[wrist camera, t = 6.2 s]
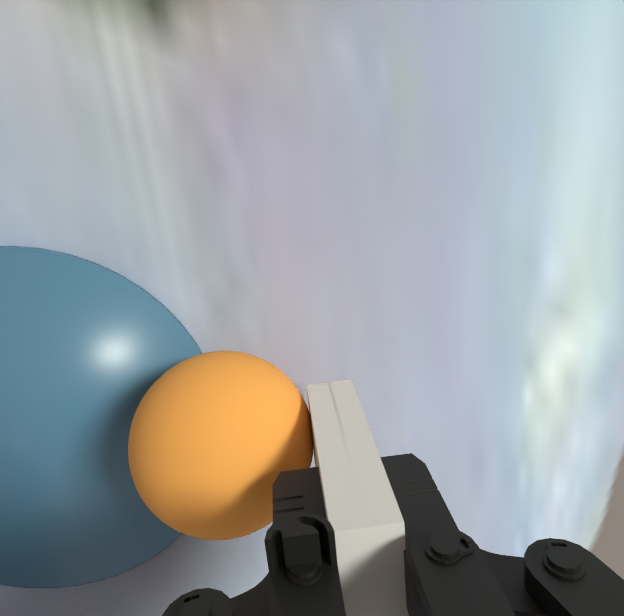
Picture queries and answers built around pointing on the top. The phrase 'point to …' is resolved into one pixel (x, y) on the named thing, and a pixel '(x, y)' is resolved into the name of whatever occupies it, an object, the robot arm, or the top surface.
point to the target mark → (75, 417)
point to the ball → (217, 443)
